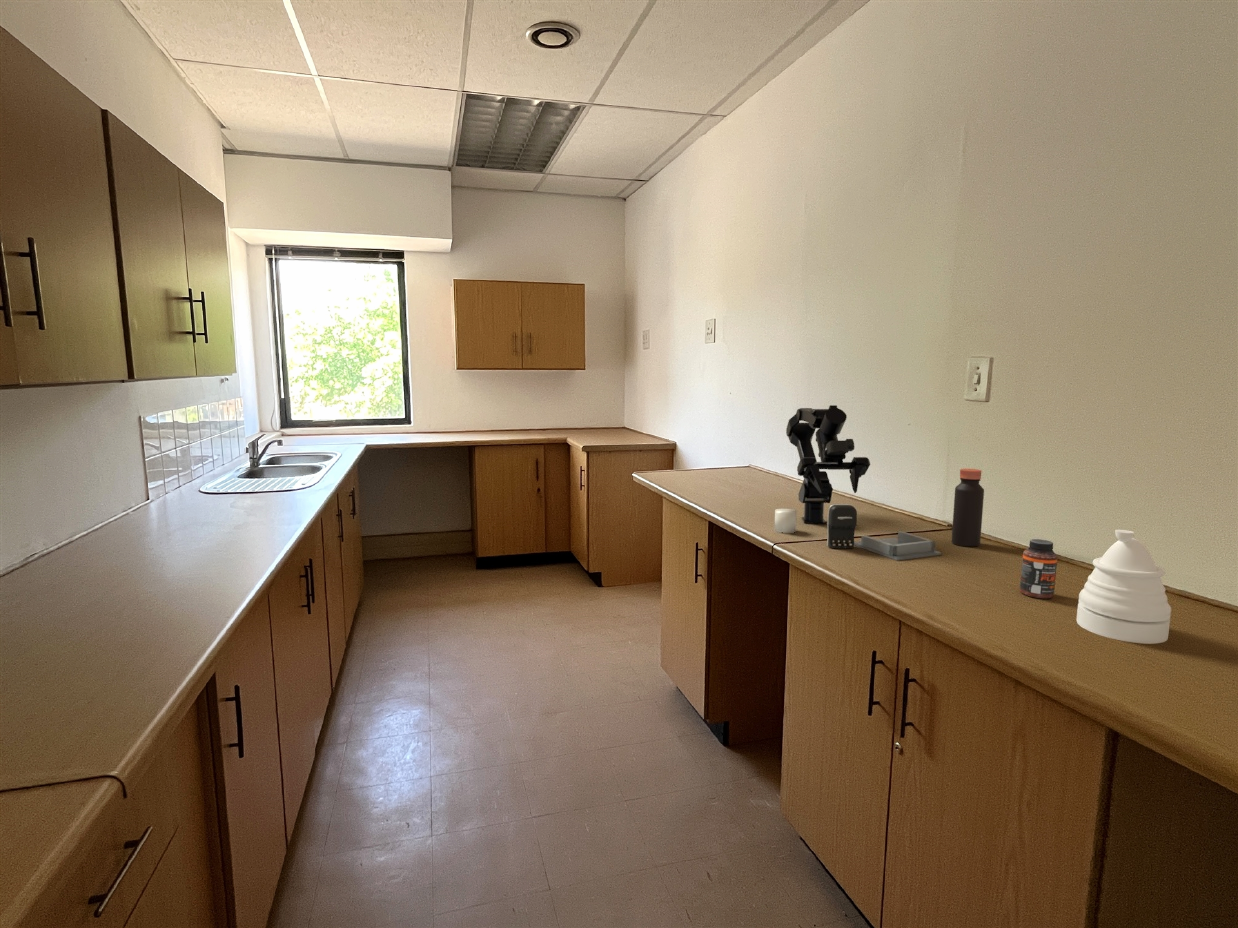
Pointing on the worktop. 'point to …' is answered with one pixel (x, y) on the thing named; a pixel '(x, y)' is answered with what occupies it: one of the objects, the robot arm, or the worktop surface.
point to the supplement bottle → (1039, 569)
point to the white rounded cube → (785, 520)
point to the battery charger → (841, 526)
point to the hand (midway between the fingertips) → (838, 492)
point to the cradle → (900, 546)
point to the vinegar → (968, 509)
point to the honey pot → (1125, 595)
